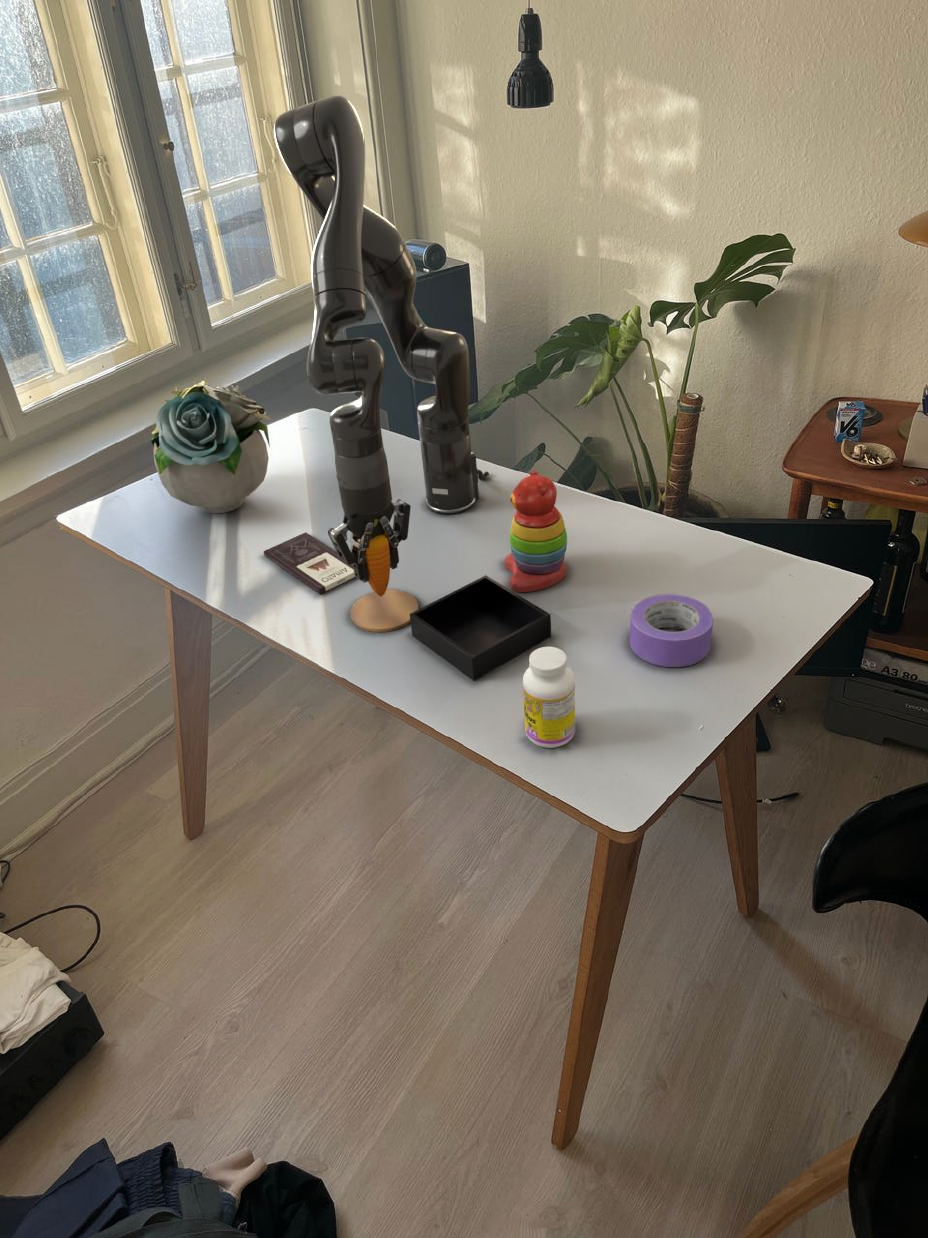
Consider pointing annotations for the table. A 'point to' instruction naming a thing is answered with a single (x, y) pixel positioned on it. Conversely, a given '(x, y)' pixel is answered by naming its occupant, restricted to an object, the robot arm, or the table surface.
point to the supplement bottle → (549, 698)
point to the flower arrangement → (211, 447)
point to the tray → (480, 626)
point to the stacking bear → (536, 536)
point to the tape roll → (671, 645)
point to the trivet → (383, 611)
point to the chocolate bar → (311, 562)
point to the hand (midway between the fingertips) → (378, 572)
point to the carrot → (378, 563)
